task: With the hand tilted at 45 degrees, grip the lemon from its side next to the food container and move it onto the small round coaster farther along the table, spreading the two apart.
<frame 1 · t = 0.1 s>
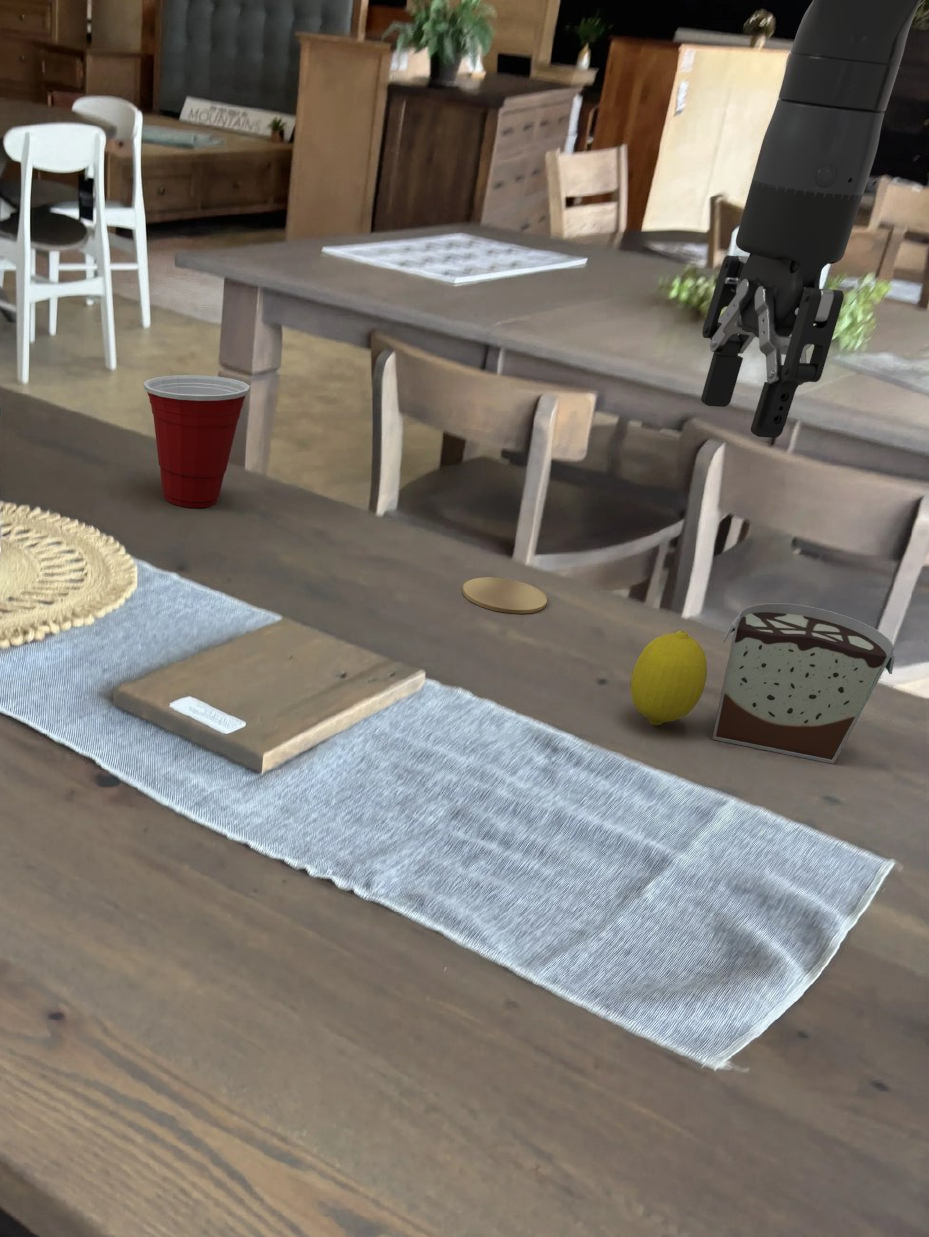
hand: (738, 420, 102), 22 cm above the table, tool pointing down, fingers open, 8 cm apart
plastic cup: (188, 500, 142), on the table
food container: (770, 737, 108), on the table
coaster: (504, 597, 127), on the table
lemon: (654, 727, 107), on the table
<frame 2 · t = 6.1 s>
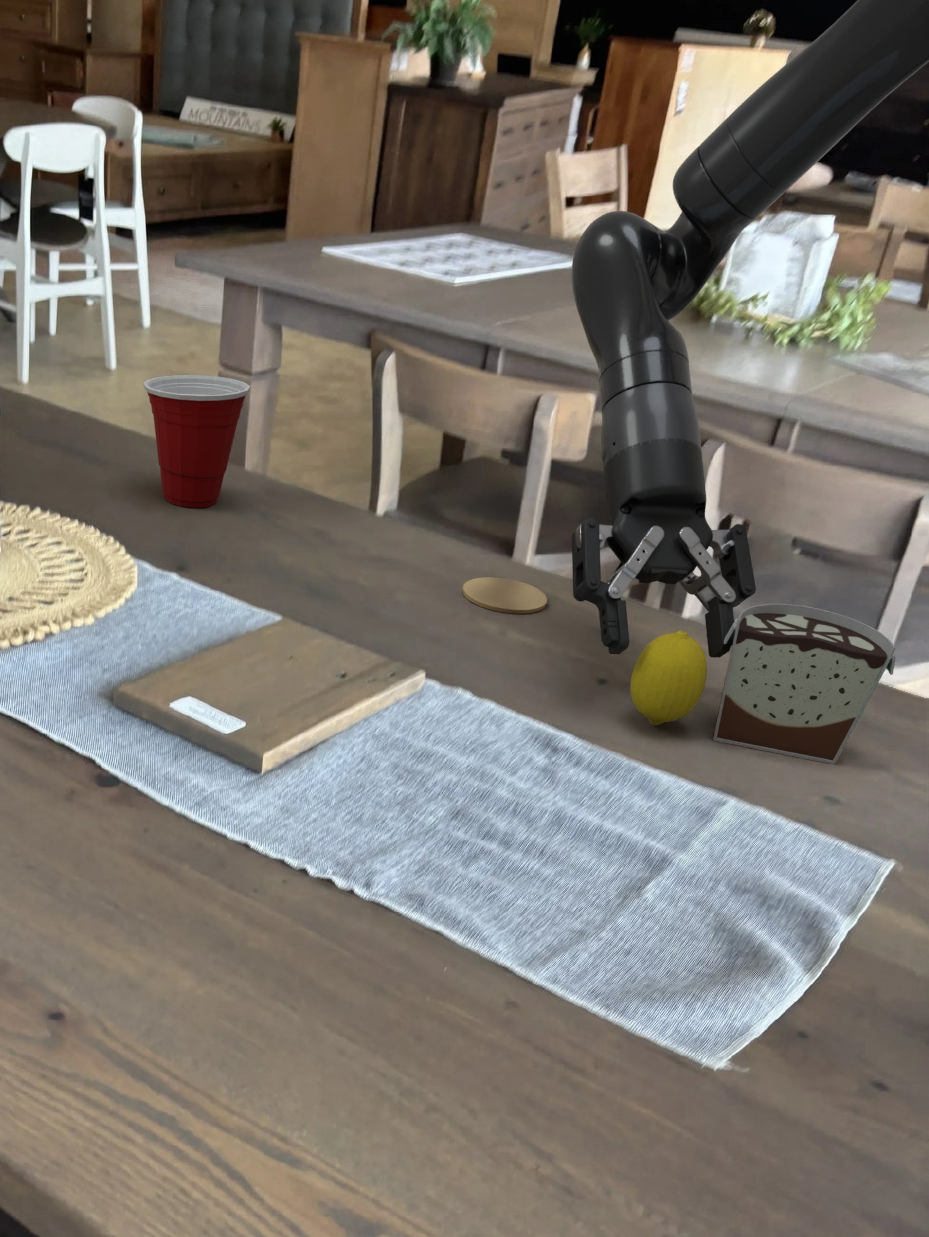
hand: (670, 652, 104), 6 cm above the table, tool tilted 45°, fingers open, 8 cm apart
food container: (770, 737, 108), on the table, touching gripper
everything else where it was.
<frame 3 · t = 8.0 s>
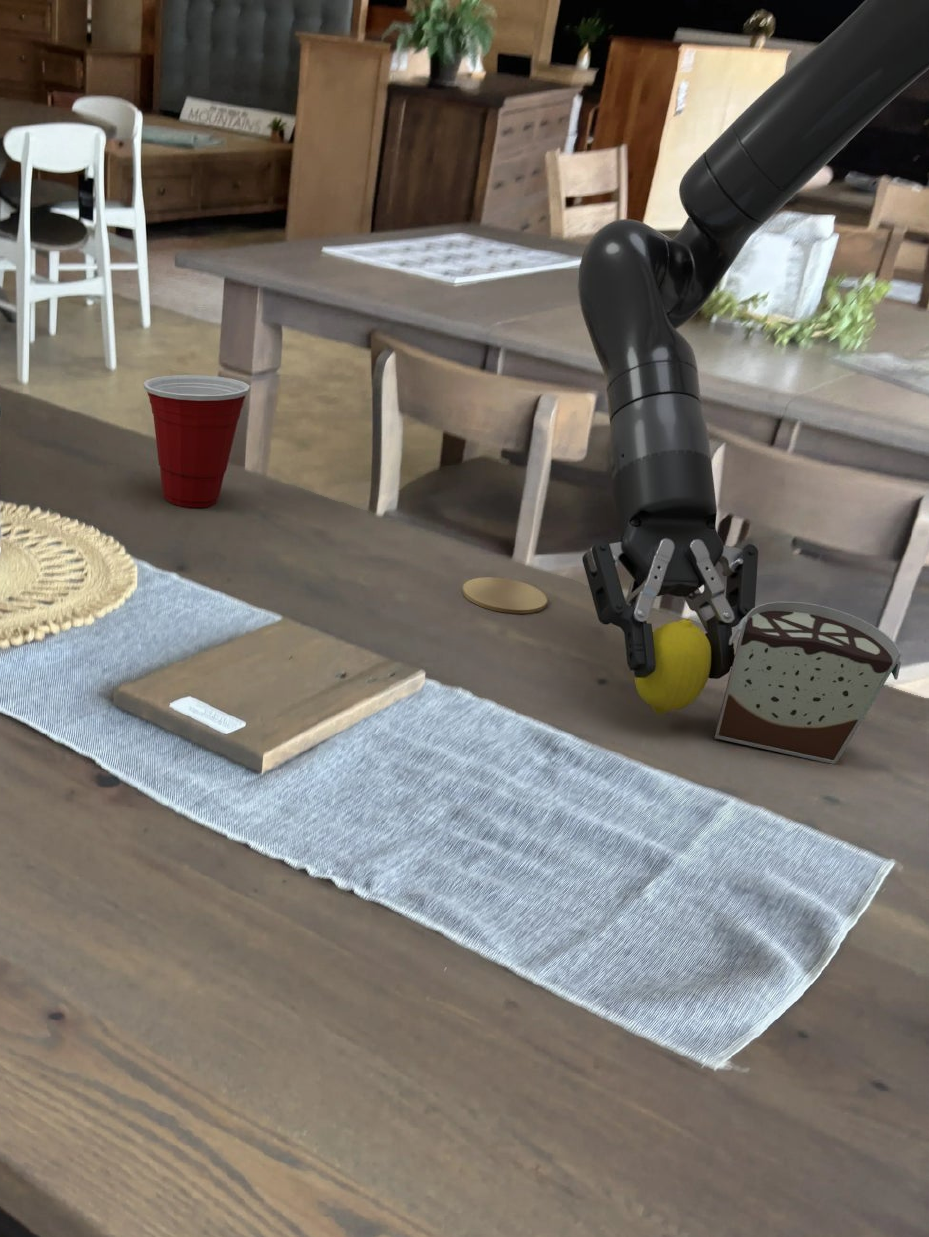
hand: (682, 674, 103), 5 cm above the table, tool tilted 45°, fingers closed on lemon, 5 cm apart
food container: (771, 733, 107), on the table
lemon: (658, 716, 107), point 1 cm above the table, touching gripper
everything else where it was.
when the fingers open (5 cm above the table, at t = 16.6 s): lemon stays where it is, resting on coaster.
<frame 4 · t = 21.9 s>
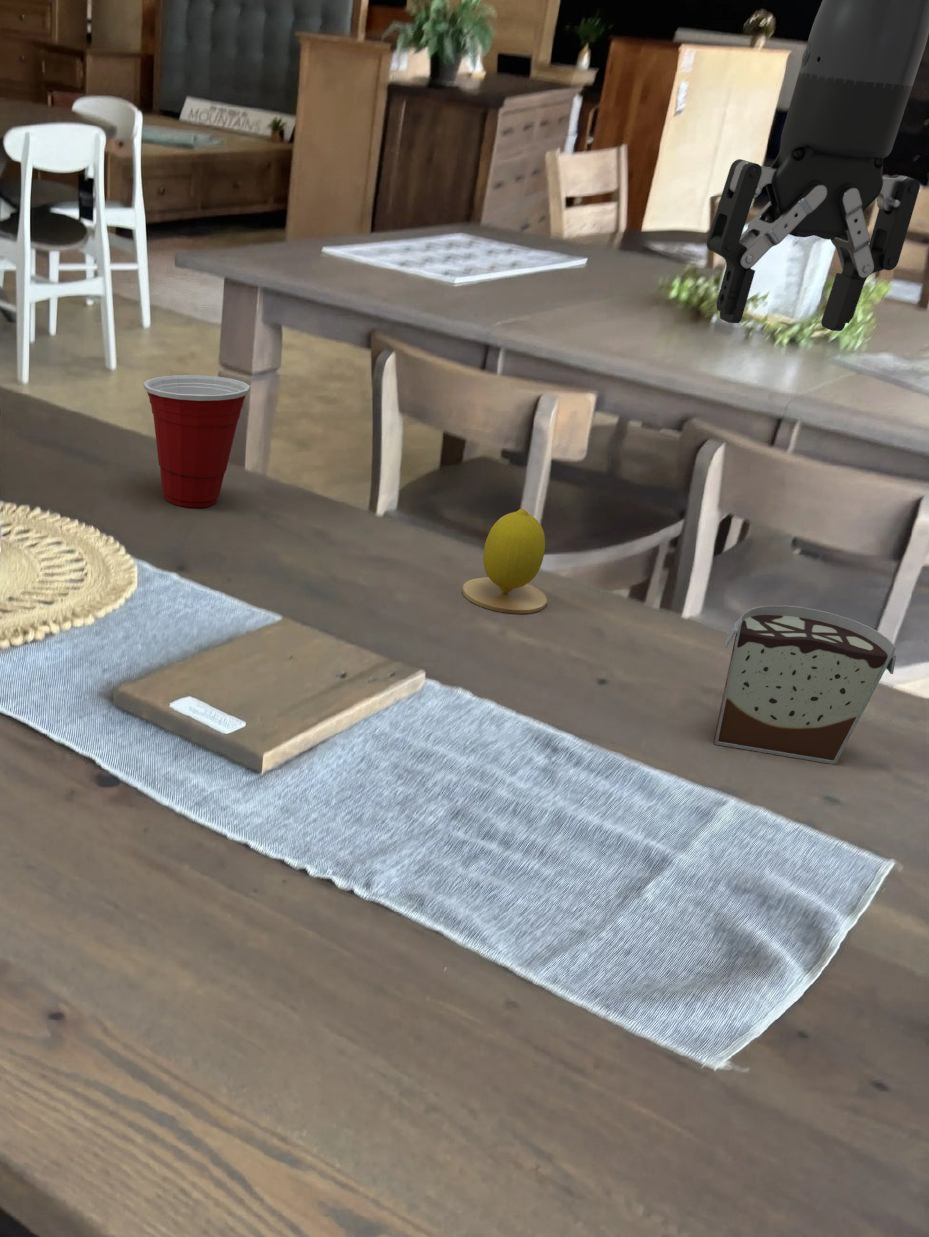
hand: (780, 325, 101), 28 cm above the table, tool pointing down, fingers open, 8 cm apart
lemon: (504, 594, 127), resting on coaster
at the end: lemon 0.0 cm off-centre on the coaster, point 0.2 cm above the coaster's base; the gripper is holding nothing; lemon 0.1 cm from the coaster (horizontally) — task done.
